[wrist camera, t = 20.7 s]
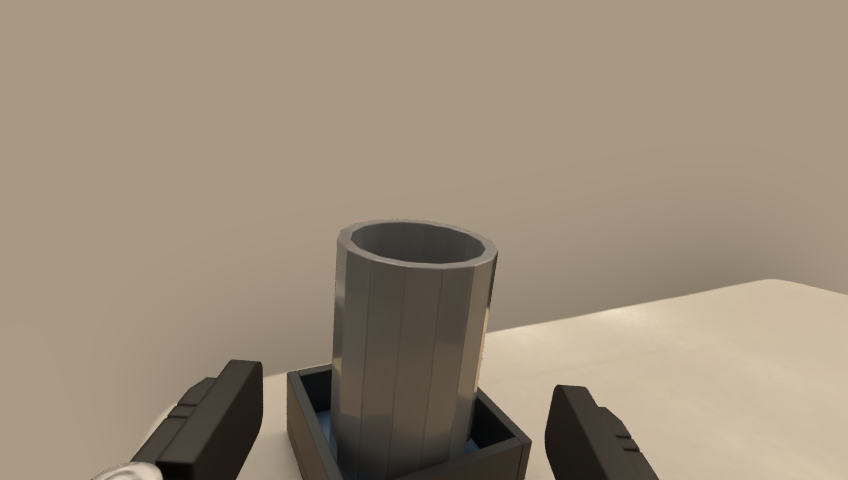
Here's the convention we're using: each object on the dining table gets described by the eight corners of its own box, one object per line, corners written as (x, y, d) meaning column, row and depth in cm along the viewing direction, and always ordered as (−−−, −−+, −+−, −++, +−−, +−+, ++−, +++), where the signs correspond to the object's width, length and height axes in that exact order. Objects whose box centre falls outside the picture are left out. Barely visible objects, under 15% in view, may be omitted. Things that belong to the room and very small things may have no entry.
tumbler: (355, 527, 16) (372, 275, 13) (314, 419, 21) (320, 221, 18) (492, 476, 19) (530, 260, 16) (427, 392, 24) (447, 217, 21)
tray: (337, 584, 15) (341, 511, 14) (286, 429, 22) (286, 372, 21) (520, 503, 19) (532, 440, 18) (429, 392, 26) (434, 342, 25)
